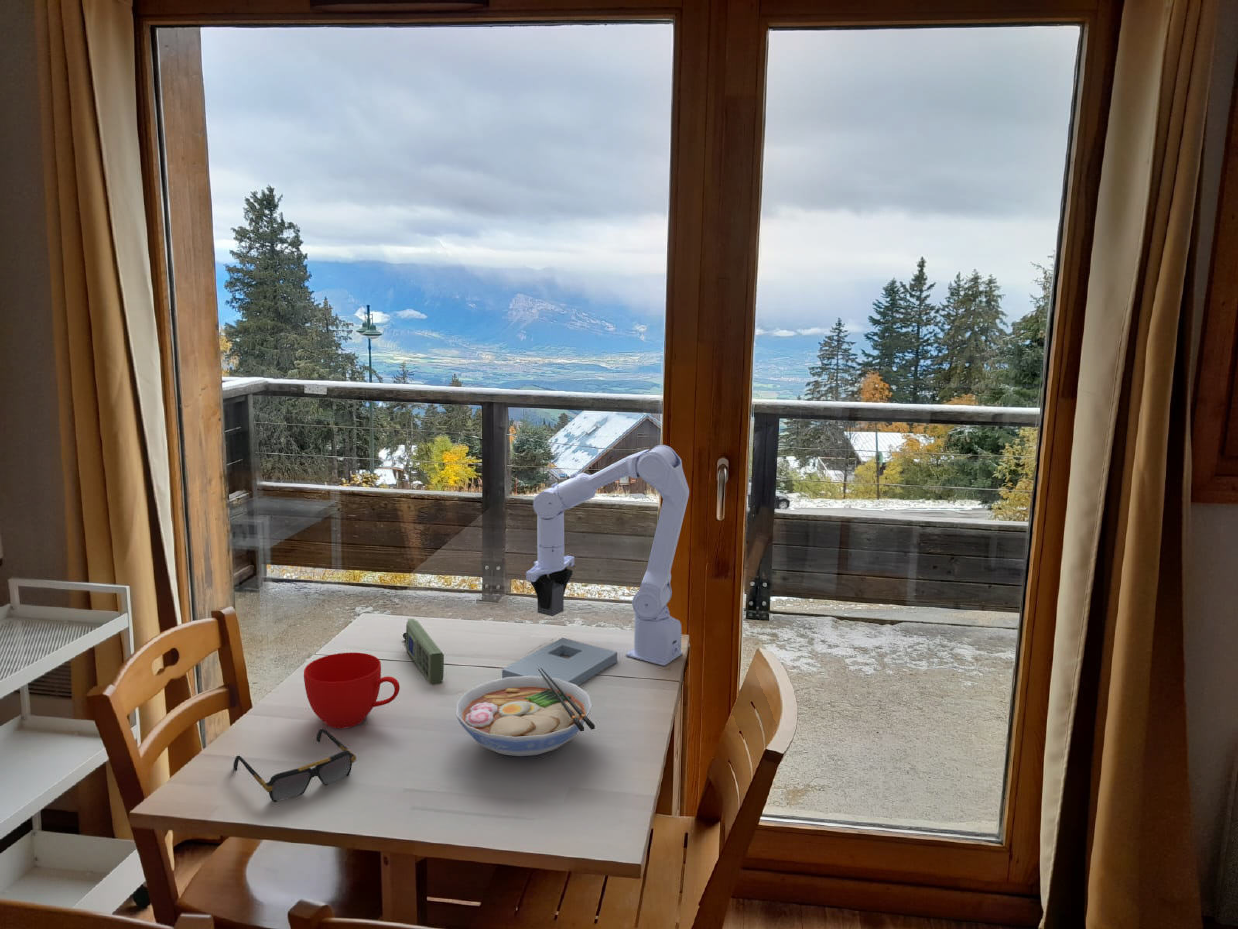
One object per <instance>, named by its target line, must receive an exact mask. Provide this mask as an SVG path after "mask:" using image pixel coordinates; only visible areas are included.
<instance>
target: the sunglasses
mask: <svg viewBox="0 0 1238 929" xmlns="http://www.w3.org/2000/svg"><path fill="white" fill-rule="evenodd" d="M322 734H324V735H326V737H328V738H329V740H330V741H331V742H332V743H333V744H334V745H335V746H337V747H338V748H339V749H340V750H341V751H340V752H338V753H336V754H334V755H331V756H330V757H326V758H324V759H320V760H317V761H314V762H311V763H309V764H305V765H302V766H300V767H298V768H294V769H290V770H286V771H282V772H279V773H275V774H274V775H273V776H271V777H270V780H269V781H268V782H266V781H265V780H264V779H263V778H262V777H261V776H260V774H258V772H257V771H255V769H253V767H252V766H251V765H250V764H249V763H248V762H247V761H246V760H245V759H244V758H243V757H242V756H241V755H236V757H235V758H234V761H233V763H232V764H233V768H232V769H233V770H234V771H237V770H238V767H239V762H241V763H242V764H243V766H244V767H245V769H246V770H247V771H248V772H249V773H250V774H251V775H252V777H253V778H254V780H256V781H257V782H258V784H259V785H260V786H262V788H263V789H264V790H265V791H266V792H267V793H268V795H269V797H270V799H271V801H272V802H274V803H278V802H279V801H282V799H283V800H287V799H291V798H293V797H296V796H303V794H304V793H305V791H307V788H308V786H309V784H310V783H311V781H312V780H313V778H315V777H317V778H318V779H319V780H320V782H321V783H322V785H323V786H328V785H329V784H332V783H333V782H336V781H338V780H340V779H343V777H348V776H350V774H351V772H352V765H353V763H354V762H355V761H356V759H357V755H356V754H354V753H353V751H351V750H350V749H348V747H346V746H345V745H344V744H343V743H342V742H341V741H339V740H338V739H337V738H336V737H335V736H334V735H332V734H331V733H330V732H328V731H327V730H326V729H325V728H323V727H322V728H320V729H319V731H318V732H317V734H316V737H315V738H316V742H317V743H320V742H321V739H322ZM277 801H278V802H277Z"/></svg>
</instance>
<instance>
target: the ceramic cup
mask: <svg viewBox="0 0 1238 929" xmlns="http://www.w3.org/2000/svg"><path fill="white" fill-rule="evenodd" d="M303 682H304V683H303V684H304V688H305V694H306V697H307V701H308V703H309V705H310V709H312V711H313V713H314V714H315V715H316V717H317V718H319V720H321V721H322V722H324V723H325V725H326V726H328V727H330V728H333V729H348V728H349V729H350V728H353V727H355V726H358V725H360V724H361V723H363V721H364V720H365V719H366V718H367V717H368V715H369V714H370V713H371V711H372V710H373V708H378V707H380V706H385V705H387V704H390V703H391V702H392V701H394V700H395V699H396V698H397V696H398V695H399V692H400V688H401V687H400V683H399V680H398V679H397V678H395V677H393V676H383V677H382V663H381V660H380V659H379V658H378V657H376V656H375V655H372V654H369V653H364V652H354V651H353V652H340V653H333V654H329V655H326V656H325V655H324V656H322V657H319V658H317V659H314V660H313V661H311V662H310V663H309V664H307V666H305V668H304V670H303ZM385 682H387V683H390V684H392V686H393V689H394V691H393V693H392V695H391V696H390V697H388V698H386V699H382V700H379V701H377V700H378V697H379V694H380V689H381V684H383V683H385Z"/></svg>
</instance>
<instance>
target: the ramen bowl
mask: <svg viewBox="0 0 1238 929" xmlns="http://www.w3.org/2000/svg"><path fill="white" fill-rule="evenodd" d="M538 670H539V668H538ZM541 670H542V671H543V672H544V673H545V674H546V676H547V677H545V676H544V675H543V674H542V672H541V671H540V670H539V672H540V673H541V675H542V676H543V677H540V676H519V677H506V678H499V679H493V680H490V681H486V682H483V683H481V684H479V685H477V686H474V687H473V688H471V689H469V690H467V691H465V692H464V693H463V694H462V696H461V697H459V699H458V700H457V701H456V703H455V716H456V718H457V719H458V720H457V721H458V722H459V724H460V725H461V726H462V727H463V729H464V730H465V731H466V733H468V734H469V735H470V736H471V737H472V738H473V739H474V740H475V741H476V742H477V743H478V744H479V745H480V746H481V747H484V748H486V749H488V750H491V751H493V752H496V753H498V754H501V755H507V756H513V757H514V756H515V757H525V756H527V757H528V756H537V755H540V754H541V755H542V754H544V753H548V752H550V751H554V750H555V749H558V748H560V747H561V746H563V745H564V744H566V743H567V742H569V741H570V740H572V739H573V738H574V737H575V736H576V735H577V733H578V732H584V731H585V727H584V724H586V725H587V726H588V728H589V729H590V730H595V729H596V725H595V724H594V722H593V721H592V720H590V718H589V717H588V716H589V715H590V712H591V710H592V708H593V703H592V699H591V697H590V694H589V693H588V692H586V691H585V690H584V689H582V688H581V687H580V686H579V685H578V686H577V685H575V684H572V683H569V682H566V681H563V680H560V679H557V678H550V677H549V676H548V675H547V673H546V672H545V671H544V670H543V669H542V668H541Z"/></svg>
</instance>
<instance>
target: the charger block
mask: <svg viewBox="0 0 1238 929" xmlns="http://www.w3.org/2000/svg"><path fill="white" fill-rule="evenodd" d="M564 595H565V593H564V585H563V584H559V583H554V584H553V587H552V591H551V601H550V607H549V609H544V608H540V605H539V601H538V598H537V597H536V598H537V599H536V600H537V614H542V615H545V616H549V617H554V616H556V615H558V614H560V613H563V612H564V611H565V610H564V604H565V603H564V601H565V599H564V598H565V596H564Z"/></svg>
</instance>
